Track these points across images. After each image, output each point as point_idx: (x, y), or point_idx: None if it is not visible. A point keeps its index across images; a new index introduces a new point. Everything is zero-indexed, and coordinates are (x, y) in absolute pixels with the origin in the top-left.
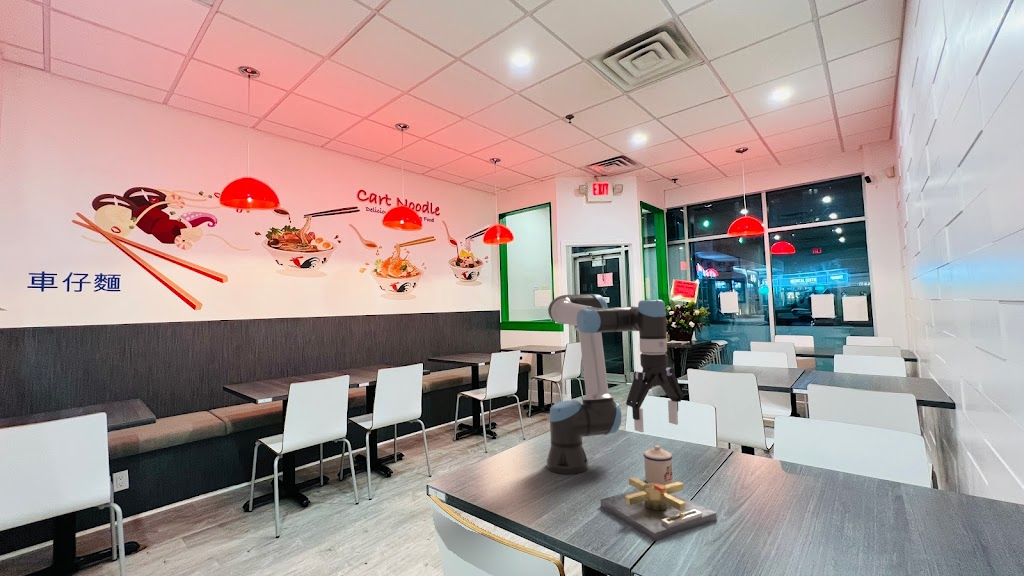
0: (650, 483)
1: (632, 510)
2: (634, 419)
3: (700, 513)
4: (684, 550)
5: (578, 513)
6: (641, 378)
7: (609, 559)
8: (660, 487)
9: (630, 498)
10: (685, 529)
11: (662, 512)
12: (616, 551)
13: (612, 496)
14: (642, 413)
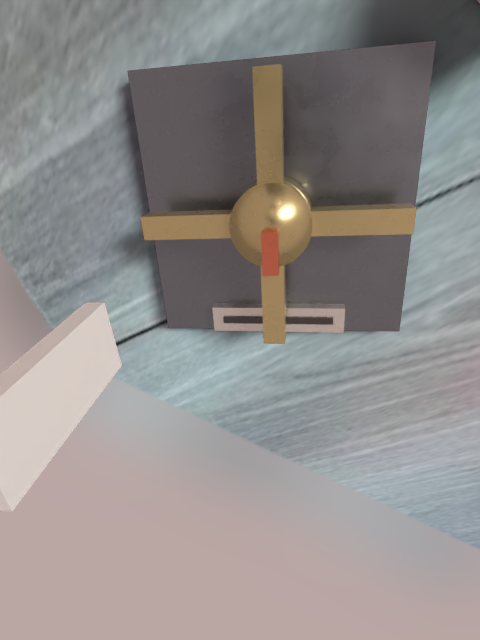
0: (278, 191)
1: (187, 203)
2: (36, 347)
3: (337, 331)
4: (210, 370)
5: (48, 87)
6: None
7: (49, 323)
8: (266, 263)
9: (149, 239)
10: None
11: None
12: (74, 308)
13: (182, 68)
14: (40, 466)
